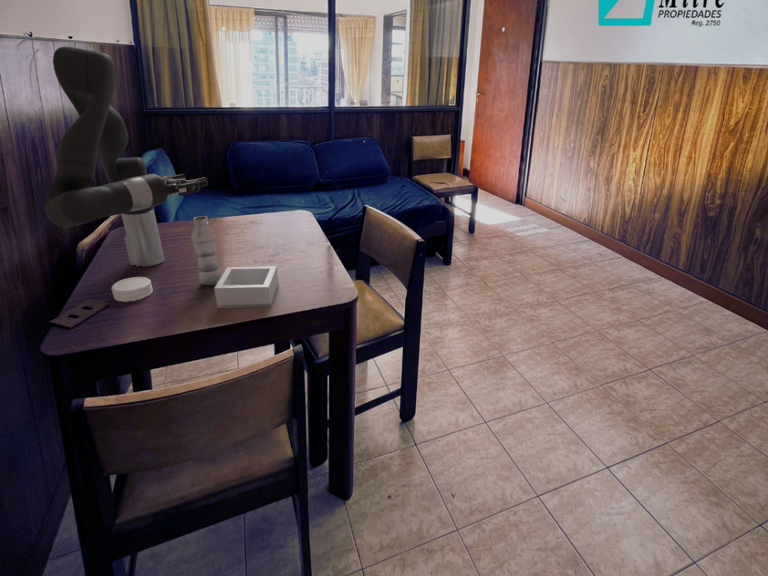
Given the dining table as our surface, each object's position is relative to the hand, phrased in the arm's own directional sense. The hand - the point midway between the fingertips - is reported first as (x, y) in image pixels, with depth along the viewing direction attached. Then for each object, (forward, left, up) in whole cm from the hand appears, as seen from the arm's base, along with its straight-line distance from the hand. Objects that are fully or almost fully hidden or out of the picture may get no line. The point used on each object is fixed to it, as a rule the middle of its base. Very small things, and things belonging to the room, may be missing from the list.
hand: (195, 179), depth 128 cm
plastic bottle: (-1, +2, -31) cm, 31 cm away
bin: (+12, -7, -31) cm, 34 cm away
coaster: (-21, -4, -31) cm, 38 cm away
